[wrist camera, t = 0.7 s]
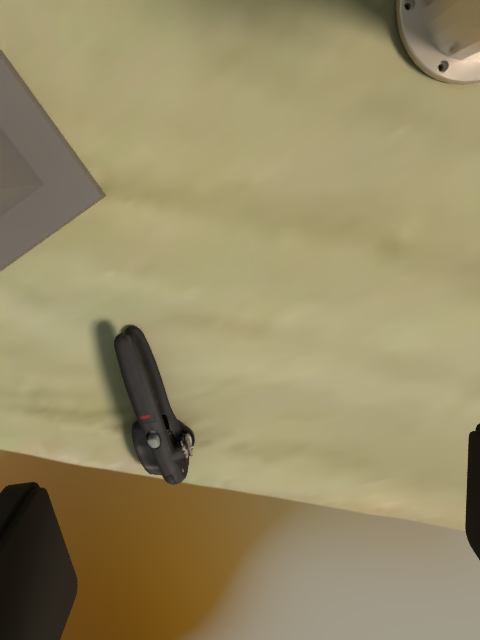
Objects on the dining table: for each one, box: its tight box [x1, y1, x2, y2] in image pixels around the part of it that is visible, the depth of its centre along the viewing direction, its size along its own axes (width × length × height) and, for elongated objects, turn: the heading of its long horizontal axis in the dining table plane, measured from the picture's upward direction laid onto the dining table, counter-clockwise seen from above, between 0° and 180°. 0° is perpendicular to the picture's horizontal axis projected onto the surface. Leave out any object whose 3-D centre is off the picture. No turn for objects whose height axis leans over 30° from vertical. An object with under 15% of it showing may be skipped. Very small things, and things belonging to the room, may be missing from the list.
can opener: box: [114, 326, 195, 485], centre depth 45 cm, size 18×7×6 cm, turn 12°
